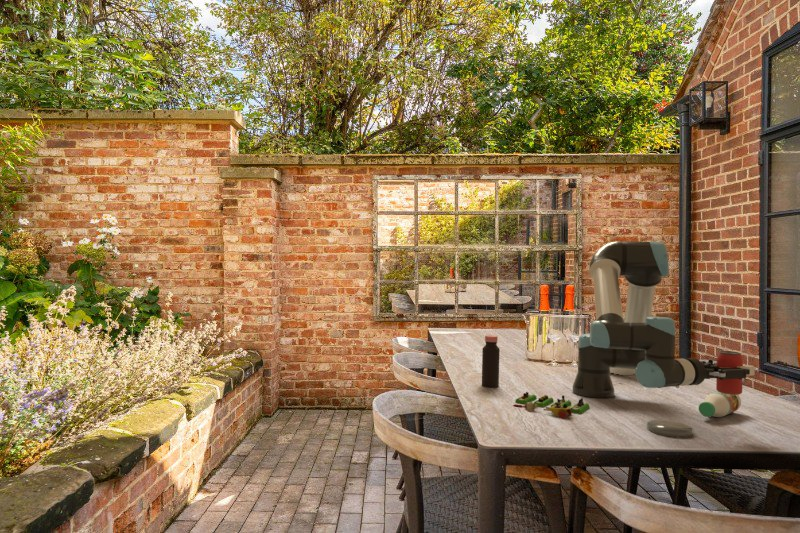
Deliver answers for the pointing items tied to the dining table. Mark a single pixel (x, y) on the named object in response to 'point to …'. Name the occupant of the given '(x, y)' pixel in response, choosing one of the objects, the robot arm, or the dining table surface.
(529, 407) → the toy garden set
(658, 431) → the pad
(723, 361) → the beer can
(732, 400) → the milk bottle
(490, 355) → the vinegar
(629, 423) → the dining table surface
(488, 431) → the dining table surface
